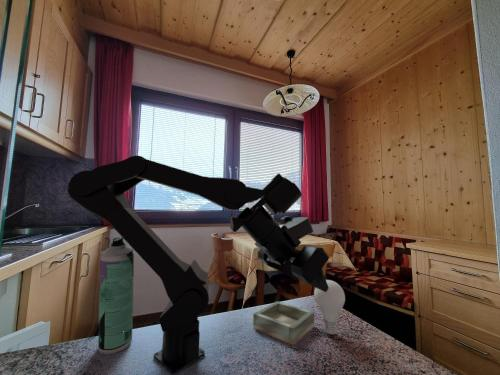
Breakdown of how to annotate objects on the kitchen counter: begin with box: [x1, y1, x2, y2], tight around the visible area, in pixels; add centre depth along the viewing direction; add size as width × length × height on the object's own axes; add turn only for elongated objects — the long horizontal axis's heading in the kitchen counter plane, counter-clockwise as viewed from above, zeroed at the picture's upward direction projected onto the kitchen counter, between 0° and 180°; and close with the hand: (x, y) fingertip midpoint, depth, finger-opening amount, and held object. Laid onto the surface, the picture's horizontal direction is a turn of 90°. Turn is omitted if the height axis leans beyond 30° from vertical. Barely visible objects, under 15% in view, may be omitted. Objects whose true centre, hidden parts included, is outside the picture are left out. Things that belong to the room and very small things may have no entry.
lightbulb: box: [313, 279, 346, 336], centre depth 48 cm, size 6×6×11 cm
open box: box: [252, 300, 315, 346], centre depth 50 cm, size 10×10×3 cm
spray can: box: [97, 236, 135, 355], centre depth 42 cm, size 6×6×20 cm
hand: (311, 283), depth 47 cm, fingers open, 9 cm apart
